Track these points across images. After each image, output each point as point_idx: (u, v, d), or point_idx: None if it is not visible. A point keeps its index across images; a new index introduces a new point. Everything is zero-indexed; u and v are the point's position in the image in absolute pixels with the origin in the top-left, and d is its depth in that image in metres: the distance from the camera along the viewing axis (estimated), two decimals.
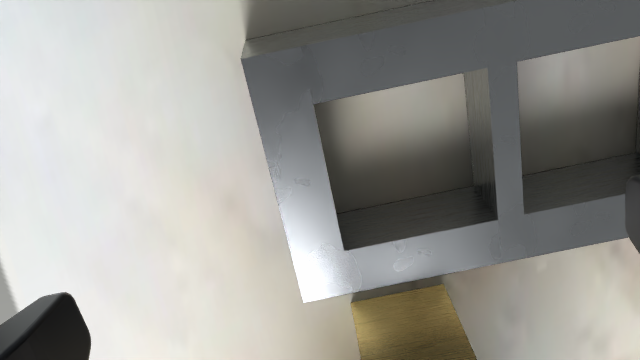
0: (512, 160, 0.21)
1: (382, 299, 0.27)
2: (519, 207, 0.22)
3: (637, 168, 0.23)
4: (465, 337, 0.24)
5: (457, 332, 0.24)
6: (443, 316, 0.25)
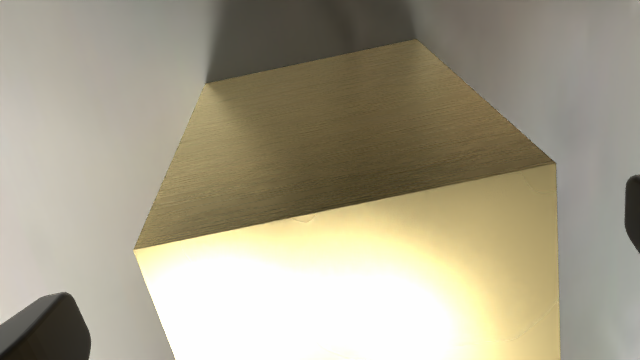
0: None
1: (275, 71, 0.12)
2: None
3: None
4: (467, 89, 0.08)
5: (445, 85, 0.09)
6: (411, 71, 0.10)
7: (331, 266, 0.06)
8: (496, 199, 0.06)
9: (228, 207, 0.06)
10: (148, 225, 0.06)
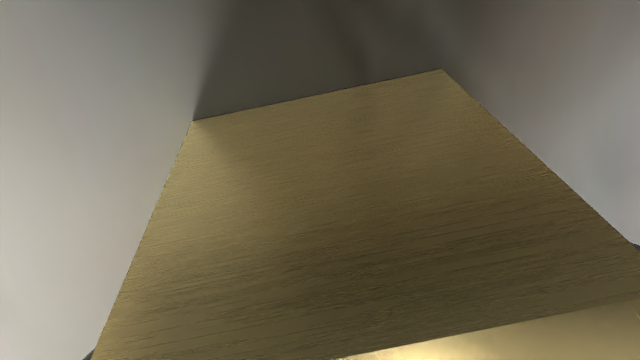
0: None
1: (275, 108, 0.10)
2: None
3: None
4: (520, 147, 0.07)
5: (489, 139, 0.07)
6: (441, 115, 0.08)
7: None
8: (592, 336, 0.04)
9: (208, 336, 0.05)
10: None
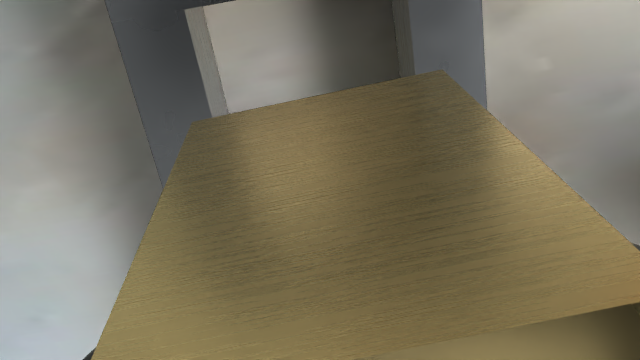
0: None
1: (275, 108, 0.10)
2: None
3: None
4: (521, 148, 0.07)
5: (491, 140, 0.07)
6: (442, 115, 0.08)
7: None
8: (594, 340, 0.04)
9: (207, 340, 0.05)
10: None
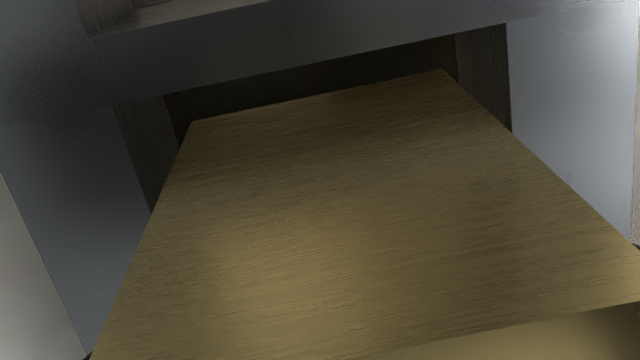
0: None
1: (274, 108, 0.10)
2: None
3: (474, 44, 0.10)
4: (521, 148, 0.07)
5: (490, 140, 0.07)
6: (442, 115, 0.08)
7: None
8: (592, 338, 0.04)
9: (207, 339, 0.05)
10: None
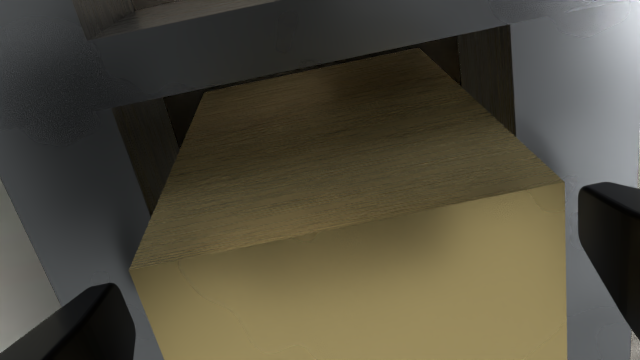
0: None
1: (275, 80, 0.11)
2: None
3: (477, 46, 0.10)
4: (471, 101, 0.08)
5: (449, 97, 0.09)
6: (413, 81, 0.10)
7: (332, 285, 0.06)
8: (503, 217, 0.06)
9: (228, 225, 0.06)
10: (145, 242, 0.06)
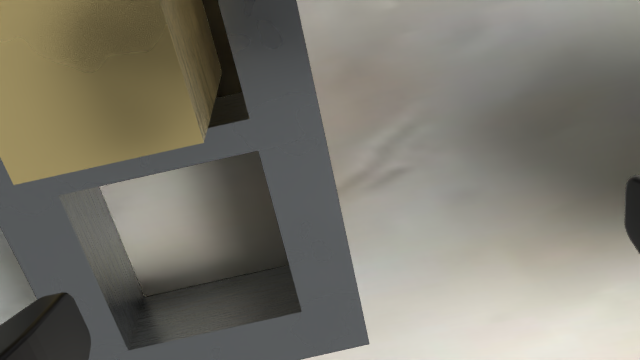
0: None
1: None
2: (238, 127, 0.17)
3: None
4: None
5: None
6: None
7: None
8: None
9: None
10: None
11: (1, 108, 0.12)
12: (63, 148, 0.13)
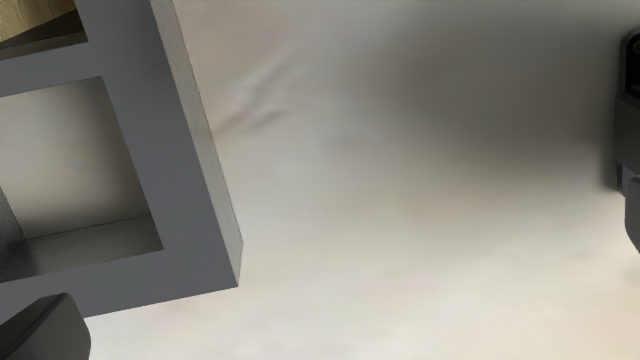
0: (12, 69, 0.16)
1: None
2: (78, 50, 0.16)
3: None
4: None
5: None
6: None
7: None
8: None
9: None
10: None
11: None
12: None
